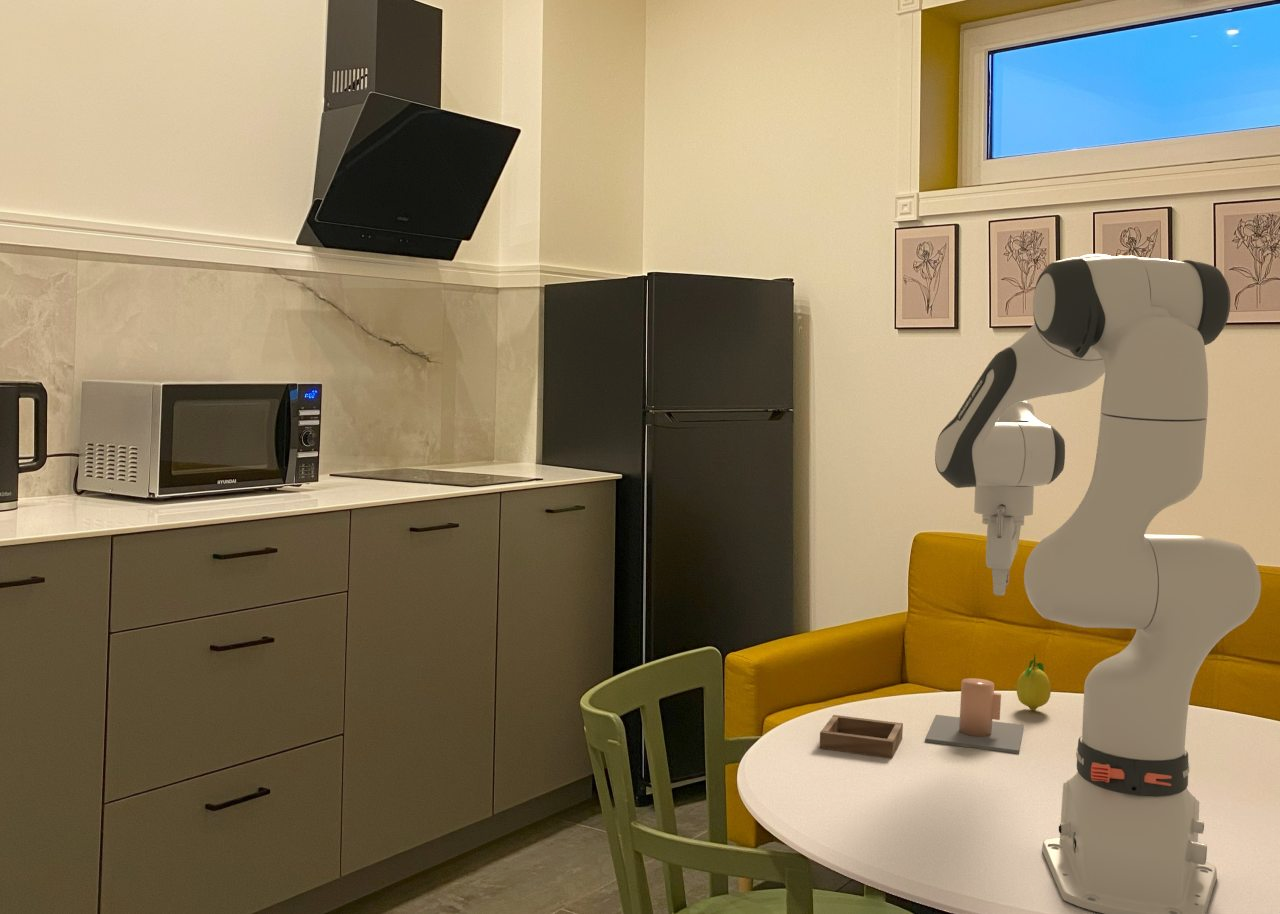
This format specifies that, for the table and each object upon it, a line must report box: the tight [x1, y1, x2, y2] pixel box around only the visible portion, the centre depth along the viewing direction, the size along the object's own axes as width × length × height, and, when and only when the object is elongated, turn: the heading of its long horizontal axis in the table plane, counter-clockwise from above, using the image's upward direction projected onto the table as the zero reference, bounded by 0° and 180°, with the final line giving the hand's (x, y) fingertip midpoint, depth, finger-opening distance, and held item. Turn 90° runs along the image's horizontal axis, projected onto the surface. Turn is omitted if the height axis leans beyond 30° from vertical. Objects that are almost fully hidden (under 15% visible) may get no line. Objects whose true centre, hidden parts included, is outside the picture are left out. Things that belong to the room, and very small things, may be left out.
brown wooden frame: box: [819, 714, 904, 759], centre depth 177 cm, size 10×11×2 cm
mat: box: [924, 714, 1025, 754], centre depth 182 cm, size 14×14×1 cm
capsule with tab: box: [959, 677, 1002, 736], centre depth 182 cm, size 5×6×8 cm
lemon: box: [1016, 653, 1052, 712], centre depth 196 cm, size 7×6×10 cm
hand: (1001, 590), depth 180 cm, fingers open, 8 cm apart
